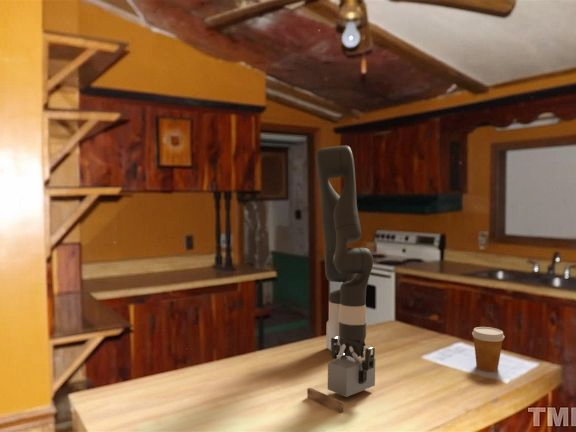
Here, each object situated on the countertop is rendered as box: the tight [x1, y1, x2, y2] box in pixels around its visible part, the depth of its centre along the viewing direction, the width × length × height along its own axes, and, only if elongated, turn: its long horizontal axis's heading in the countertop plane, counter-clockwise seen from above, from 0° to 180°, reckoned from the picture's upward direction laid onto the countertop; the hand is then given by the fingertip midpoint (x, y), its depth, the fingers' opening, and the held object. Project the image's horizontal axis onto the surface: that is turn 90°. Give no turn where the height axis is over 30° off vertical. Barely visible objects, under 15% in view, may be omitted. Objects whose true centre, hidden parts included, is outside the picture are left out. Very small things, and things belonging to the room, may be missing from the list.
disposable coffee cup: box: [471, 326, 505, 372], centre depth 154 cm, size 10×10×12 cm
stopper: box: [306, 387, 344, 414], centre depth 127 cm, size 12×1×2 cm, turn 42°
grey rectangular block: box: [327, 356, 376, 398], centre depth 134 cm, size 7×12×8 cm, turn 132°
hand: (351, 379), depth 135 cm, fingers closed on grey rectangular block, 7 cm apart
